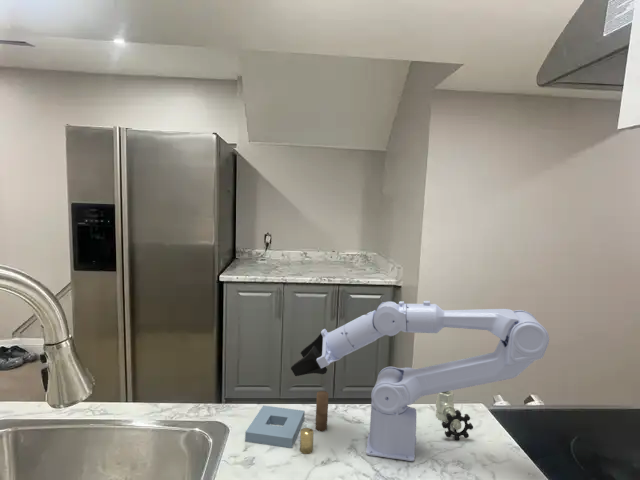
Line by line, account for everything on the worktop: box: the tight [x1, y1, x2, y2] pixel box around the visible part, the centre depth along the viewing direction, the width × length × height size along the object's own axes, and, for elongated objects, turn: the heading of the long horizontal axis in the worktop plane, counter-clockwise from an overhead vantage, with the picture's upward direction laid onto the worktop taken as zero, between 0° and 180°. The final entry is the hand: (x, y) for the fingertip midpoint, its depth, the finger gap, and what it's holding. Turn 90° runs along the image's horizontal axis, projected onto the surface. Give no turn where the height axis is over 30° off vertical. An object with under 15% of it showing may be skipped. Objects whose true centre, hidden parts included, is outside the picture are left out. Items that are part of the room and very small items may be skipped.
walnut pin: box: [314, 390, 329, 432], centre depth 92 cm, size 3×3×8 cm
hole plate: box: [244, 404, 306, 449], centre depth 91 cm, size 10×12×2 cm
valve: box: [435, 390, 474, 442], centre depth 95 cm, size 7×7×12 cm
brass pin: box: [299, 427, 314, 455], centre depth 83 cm, size 3×3×4 cm
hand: (298, 363), depth 90 cm, fingers open, 7 cm apart
